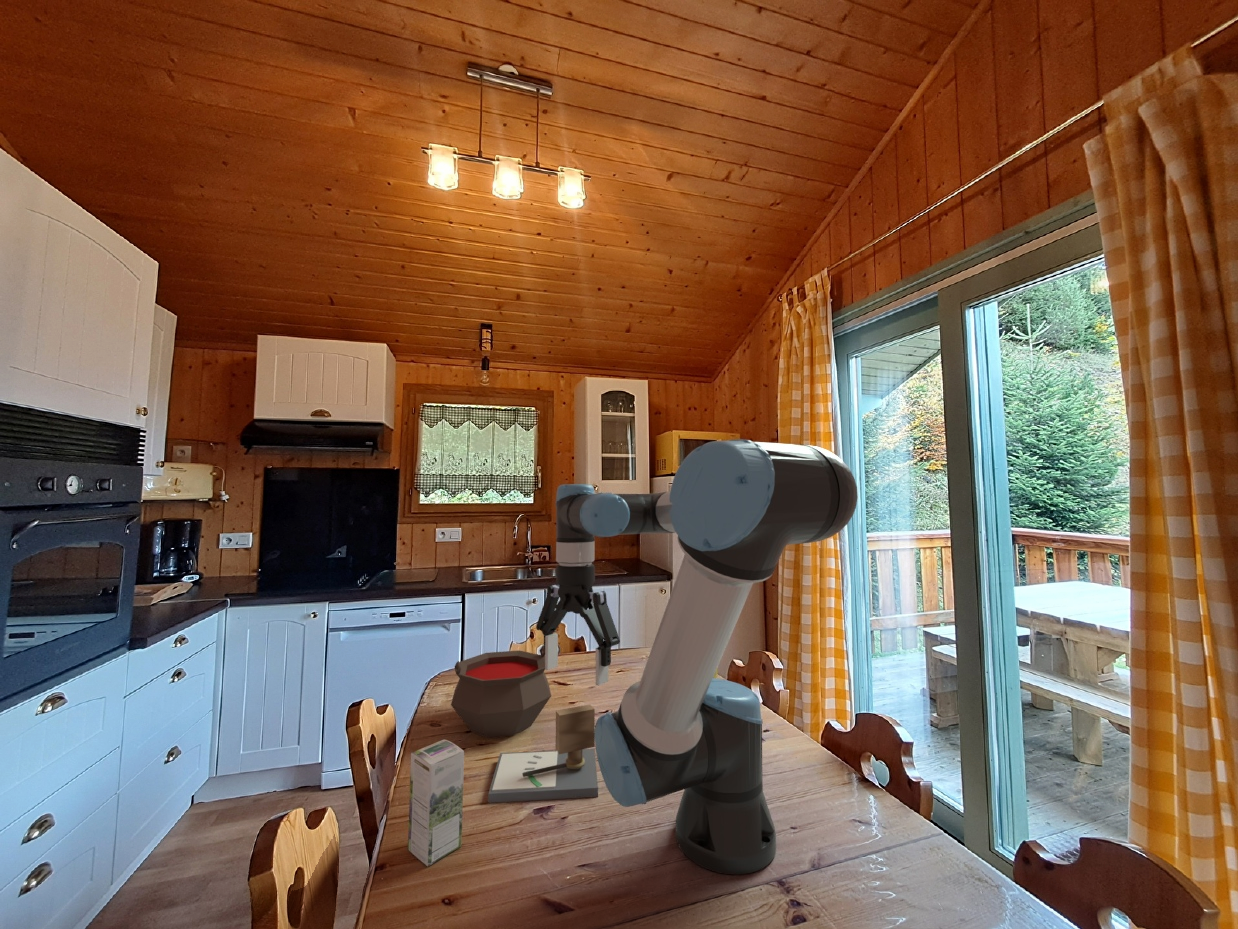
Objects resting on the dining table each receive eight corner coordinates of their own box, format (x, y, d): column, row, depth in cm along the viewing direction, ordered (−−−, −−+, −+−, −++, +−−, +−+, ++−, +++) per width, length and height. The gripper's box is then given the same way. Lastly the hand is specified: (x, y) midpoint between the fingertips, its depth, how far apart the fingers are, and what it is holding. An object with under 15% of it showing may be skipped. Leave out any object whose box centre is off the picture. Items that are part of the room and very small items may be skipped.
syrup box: (441, 831, 80) (443, 736, 81) (463, 847, 76) (464, 748, 77) (407, 851, 75) (409, 750, 76) (428, 869, 71) (430, 763, 72)
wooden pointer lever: (589, 755, 99) (589, 703, 99) (595, 764, 95) (595, 710, 96) (520, 771, 93) (521, 715, 94) (525, 781, 90) (525, 723, 90)
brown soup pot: (527, 695, 134) (527, 633, 135) (572, 729, 115) (572, 656, 116) (435, 718, 121) (436, 649, 122) (468, 761, 101) (469, 677, 102)
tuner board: (597, 796, 89) (597, 785, 89) (488, 802, 87) (488, 791, 87) (594, 756, 103) (594, 746, 103) (500, 761, 101) (500, 751, 101)
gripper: (637, 566, 93) (639, 684, 91) (546, 557, 109) (546, 658, 107) (611, 570, 87) (612, 697, 86) (519, 560, 103) (518, 667, 101)
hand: (575, 675), depth 96 cm, fingers open, 13 cm apart
